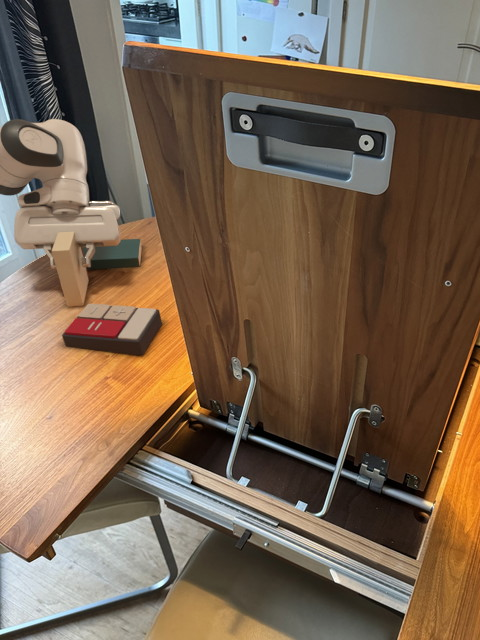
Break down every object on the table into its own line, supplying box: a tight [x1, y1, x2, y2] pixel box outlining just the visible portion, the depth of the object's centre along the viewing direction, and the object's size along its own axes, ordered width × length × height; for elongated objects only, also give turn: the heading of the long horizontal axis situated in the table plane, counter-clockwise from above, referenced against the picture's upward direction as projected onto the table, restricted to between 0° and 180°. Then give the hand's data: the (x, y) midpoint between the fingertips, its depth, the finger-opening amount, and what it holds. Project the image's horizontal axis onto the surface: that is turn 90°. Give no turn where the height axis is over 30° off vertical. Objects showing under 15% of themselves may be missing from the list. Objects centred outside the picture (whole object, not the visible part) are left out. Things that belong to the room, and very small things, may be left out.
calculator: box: [61, 303, 163, 357], centre depth 98 cm, size 11×4×15 cm
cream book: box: [51, 232, 90, 308], centre depth 106 cm, size 3×11×13 cm, turn 10°
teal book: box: [82, 238, 143, 271], centre depth 121 cm, size 14×10×3 cm
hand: (71, 267), depth 105 cm, fingers open, 5 cm apart
